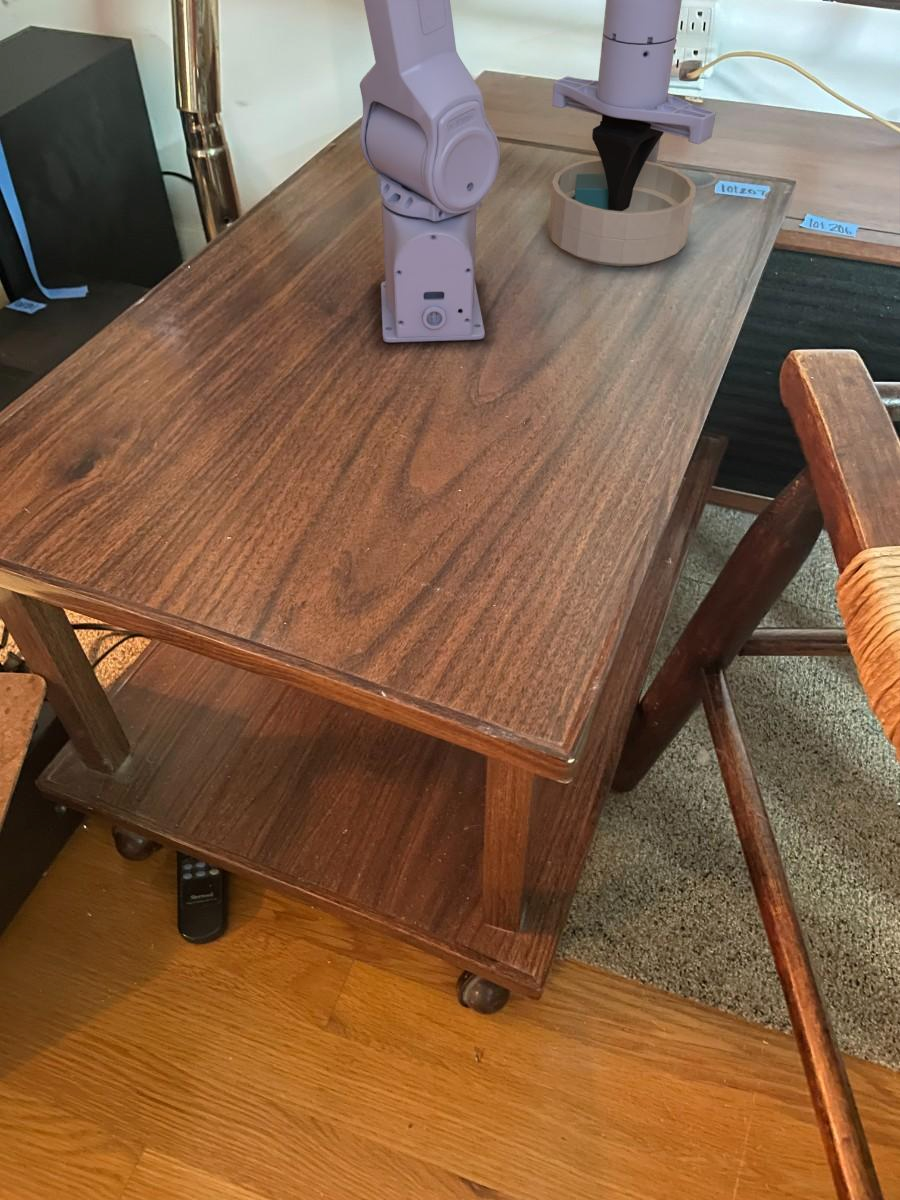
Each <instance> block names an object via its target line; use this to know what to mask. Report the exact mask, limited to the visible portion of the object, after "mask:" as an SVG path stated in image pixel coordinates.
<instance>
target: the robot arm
mask: <svg viewBox="0 0 900 1200" xmlns="http://www.w3.org/2000/svg"><path fill="white" fill-rule="evenodd" d="M682 3H683V0H605V6H604V7H605V9H604V19H603V28H602V36H601V37H602V38H601V48H600V57H599V67H598V68H599V70H598V79H597V80H593V79H584V78H579V77H578V78H577V77H573V76H568V75H567V76H565V77H562V78H559V79H557V80H555V81H553V88H552V104H551V106H552V107H555V108H558V109H564V108H566V107H567V108H571V109H575V110H578V111H582V112H586V113H589V114H593V115H597V116H601V120H600V122H599V125H597V126H595V127H593V129H592V133H591V139H592V141H593V143H594V145H595V147H596V150H597V152H598V155H599V158H601V160H602V164H603V167H604V171H605V175H606V180H607V186H608V193H609V198H608V210H613V211H624V210H625V209H627V208H629V206H630V202H631V198H632V193H633V188H634V185H635V183H636V180H637V178H638V176H639V174H640V171H641V169H642V167H643V165H644V163H645V162H646V160H647V158H648V156H649V154H650V153H651V151H652V150H653V148H654V146H655V145H656V143H657V142H658V140H659V139H660V140H661V138H662V137H663V135H664V133H667V134H670V135H674V136H677V137H682V138H686V139H688V142H689V143H691V144H694V145H701V144H703V143H706V141H708V140H711V138H712V136H713V131H714V126H715V121H716V115H717V112H716V111H713V110H709V109H706V108H703V107H701V106H697V105H695V104H693V103H691V102H689V101H686V100H685V99H682V98H679V97H678V96H675V95H673V94H670V93H669V89H668V88H670V83H671V74H672V68H673V61H674V55H675V47H676V41H677V34H678V30H679V29H678V28H679V21H680V14H681V8H682ZM363 5H364V10H365V15H366V20H367V25H368V31H369V35H370V40H371V45H372V46H371V47H372V50H373V55H374V60H375V63H374V64H373V65H372V67H371V68H370V69H369V70H368V72H367V73H366V74H365V75H364V76H363V78H362V79H361V80H360V82H359V90H360V95H361V101H362V117H361V123H360V128H359V145H360V149H361V153H362V156H363V158H364V161H365V162H366V164H367V165H368V166H369V167H370V168H371V170H372V171H374V172H375V173H376V174H377V189H378V190H379V191H380V200H381V202H380V203H381V222H382V240H383V241H382V243H383V259H384V260H383V261H384V280H385V281H382V282H381V283H380V295H381V296H380V297H381V322H382V326H381V327H382V340H383V341H384V342H386V343H416V342H418V343H419V342H421V343H422V342H449V341H476V340H477V341H479V340H483V339H484V338H485V337H486V336H485V335H486V332H485V326H484V321H483V316H482V311H481V306H480V300H479V295H478V290H477V286H476V278H475V277H476V275H475V274H476V245H477V244H476V242H477V241H476V240H477V210H478V209H481V208H482V204H483V203H482V202H483V200H485V198H486V197H487V195H488V194H489V193H490V192H491V189H492V187H493V186H494V183H495V181H496V178H497V176H498V173H499V168H500V162H501V161H500V159H501V150H500V142H499V139H498V137H497V135H496V132H495V131H494V129H493V128H492V126H491V125H490V123H489V121H488V118H487V116H486V113H485V112H486V111H485V106H484V97H483V93H482V91H481V89H480V88H479V86H478V84H477V82H476V80H475V79H474V78H473V75H472V74H471V73H470V71H469V70H468V68H467V67H466V65H465V64H464V62H463V60H462V59H461V58H460V56H459V53H458V51H457V45H456V37H455V30H454V29H455V28H454V22H453V13H452V6H451V0H363ZM669 82H670V83H669Z"/></svg>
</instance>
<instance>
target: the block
mask: <svg viewBox="0 0 900 1200" xmlns="http://www.w3.org/2000/svg"><path fill="white" fill-rule="evenodd" d="M608 198H609V193H608V186H607V180H606V175H605V174H577V178H576V187H575V200H576V201H578V202H580V203H583V204H585V205H588V206H592V207H596V208H601V209H605V210H608Z"/></svg>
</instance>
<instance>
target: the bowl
mask: <svg viewBox="0 0 900 1200" xmlns="http://www.w3.org/2000/svg"><path fill="white" fill-rule="evenodd" d="M577 174H605V171H604V167H603V164H602V160H601V158H600V157H599V158H591V159H587V160H586V159H585V160H581V161H577V162H574V163H572V164H571V163H570V164H568V165H566V166H564V167H562V168H561V169H560V170H558V171H557V172H556V173H555V175H554V176H553V179H552V181H551V192H550V203H549V214H548V227H547V231H548V233H549V236H550V240H551V241H552V242H553V243H554V244H555V245H557V246H558V247H559V249H561V250H564V251H566V252H568V254H571V255H572V256H574V257H576V258H578V259H581V260H583V261H587V262H589V263H594V264H598V265H604V266H613V267H636V266H644V265H650V264H653V263H656V262H659V261H663V260H665V259H668V258H670V257H672V256H675V255H677V253H679V252H680V251H681V250H682V249H683V248H684V247H685V245H686V244H687V240H688V239H687V238H688V233H689V229H690V224H691V219H692V214H693V209H694V203H695V198H696V193H697V186H696V185H695V183H694V182H693V180H692V179H691V177H689V176H687V175H686V174H685V173H683V172H681V171H680V170H678V169H675V168H673V167H670V166H668V165H665V164H662V163H659V162H658V163H657V162H656V163H654V162H649V161H646V162H645V163H644V165H643V167H642V169H641V171H640V174H639V176H638V178H637V180H636V183H635V185H634V188H633V193H632V198H631V202H630V206H629V208H627V209H625V210H624V211H613V210H605V209H601V208H596V207H592V206H588V205H585V204H583V203H580V202H578V201H576V200H575V187H576V178H577Z"/></svg>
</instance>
